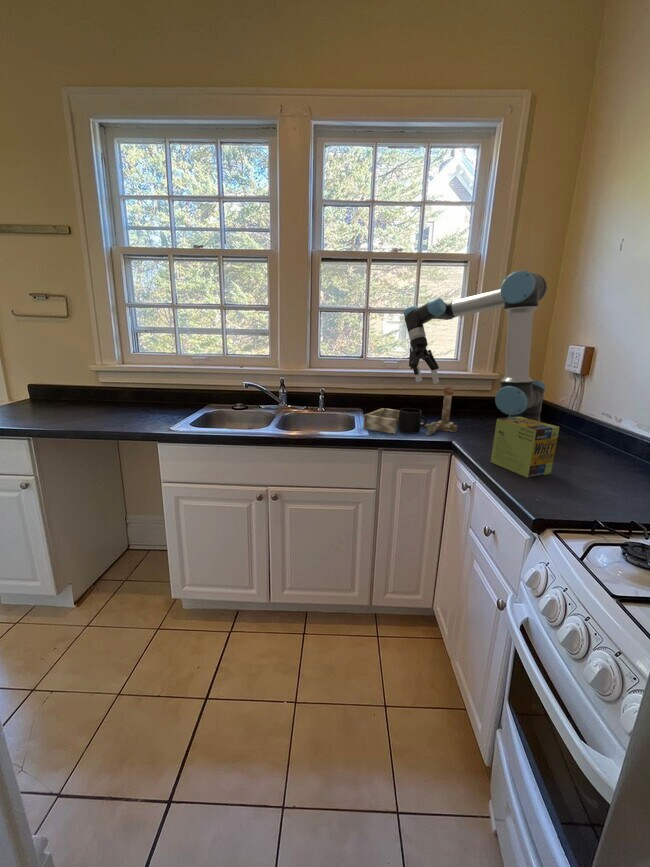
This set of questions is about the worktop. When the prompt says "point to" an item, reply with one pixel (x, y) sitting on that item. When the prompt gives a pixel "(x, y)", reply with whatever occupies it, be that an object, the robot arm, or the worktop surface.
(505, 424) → the protein box
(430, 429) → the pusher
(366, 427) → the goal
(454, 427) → the rail
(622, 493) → the worktop surface
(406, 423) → the mug
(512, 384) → the robot arm
